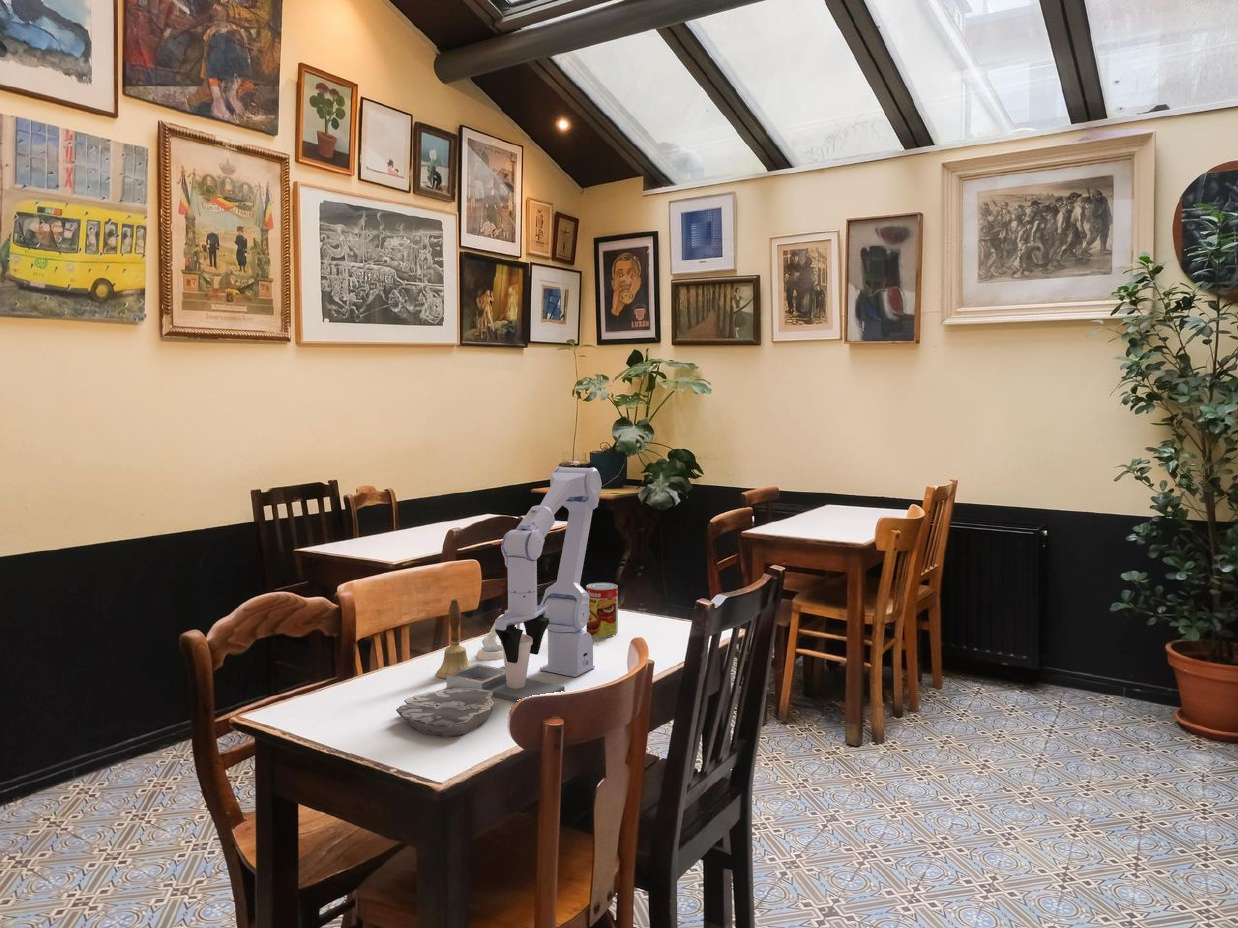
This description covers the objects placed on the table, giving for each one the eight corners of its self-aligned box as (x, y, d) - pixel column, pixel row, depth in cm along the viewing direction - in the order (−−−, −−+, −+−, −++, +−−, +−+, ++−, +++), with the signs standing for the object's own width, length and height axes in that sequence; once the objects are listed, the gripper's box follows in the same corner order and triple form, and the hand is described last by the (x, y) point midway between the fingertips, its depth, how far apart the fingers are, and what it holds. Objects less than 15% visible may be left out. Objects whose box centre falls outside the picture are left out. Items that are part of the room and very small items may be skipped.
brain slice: (419, 701, 170) (418, 686, 169) (504, 704, 168) (504, 689, 168) (380, 739, 150) (380, 723, 150) (476, 743, 148) (476, 726, 148)
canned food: (582, 630, 220) (581, 584, 220) (610, 627, 223) (610, 581, 223) (593, 638, 213) (593, 590, 212) (622, 635, 216) (622, 587, 215)
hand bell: (428, 673, 186) (426, 600, 185) (459, 665, 192) (458, 593, 191) (451, 682, 180) (450, 606, 179) (483, 673, 186) (482, 599, 185)
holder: (521, 678, 182) (521, 666, 182) (482, 695, 172) (482, 683, 171) (486, 671, 187) (486, 659, 187) (446, 687, 177) (446, 675, 176)
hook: (515, 641, 192) (489, 623, 192) (492, 678, 197) (468, 659, 198) (529, 626, 198) (505, 608, 199) (507, 662, 203) (483, 644, 204)
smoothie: (509, 693, 170) (510, 624, 168) (494, 682, 175) (495, 615, 174) (537, 687, 174) (539, 619, 172) (522, 676, 179) (523, 611, 177)
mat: (564, 691, 174) (564, 686, 174) (534, 705, 166) (534, 700, 166) (521, 681, 180) (521, 677, 180) (489, 695, 172) (489, 690, 172)
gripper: (528, 581, 180) (529, 646, 181) (482, 594, 168) (483, 663, 169) (556, 585, 177) (556, 651, 177) (511, 599, 164) (512, 669, 165)
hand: (523, 657), depth 173 cm, fingers closed on smoothie, 6 cm apart
